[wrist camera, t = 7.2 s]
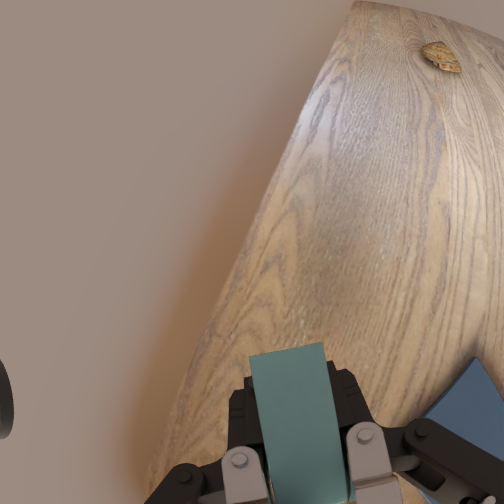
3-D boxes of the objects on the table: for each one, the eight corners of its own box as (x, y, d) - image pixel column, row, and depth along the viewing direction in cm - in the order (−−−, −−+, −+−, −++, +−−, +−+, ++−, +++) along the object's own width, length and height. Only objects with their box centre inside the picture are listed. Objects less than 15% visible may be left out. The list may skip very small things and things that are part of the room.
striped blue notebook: (532, 468, 9) (535, 468, 8) (463, 543, 8) (465, 545, 7) (473, 356, 16) (477, 356, 16) (385, 448, 15) (387, 450, 14)
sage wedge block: (331, 467, 12) (360, 524, 6) (278, 477, 13) (271, 540, 6) (311, 354, 16) (331, 339, 9) (258, 365, 16) (236, 358, 9)
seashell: (426, 58, 30) (422, 29, 30) (418, 76, 36) (416, 47, 35) (469, 74, 28) (462, 44, 28) (458, 91, 34) (454, 61, 33)
